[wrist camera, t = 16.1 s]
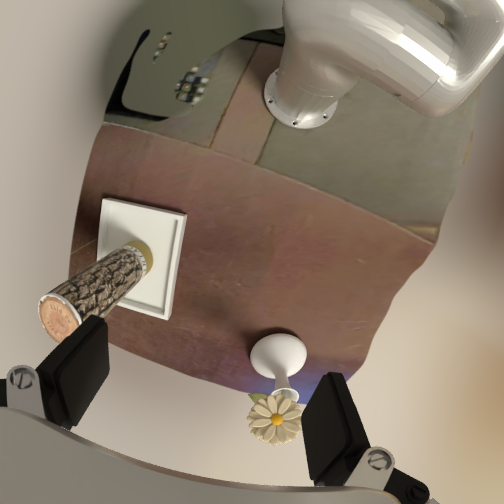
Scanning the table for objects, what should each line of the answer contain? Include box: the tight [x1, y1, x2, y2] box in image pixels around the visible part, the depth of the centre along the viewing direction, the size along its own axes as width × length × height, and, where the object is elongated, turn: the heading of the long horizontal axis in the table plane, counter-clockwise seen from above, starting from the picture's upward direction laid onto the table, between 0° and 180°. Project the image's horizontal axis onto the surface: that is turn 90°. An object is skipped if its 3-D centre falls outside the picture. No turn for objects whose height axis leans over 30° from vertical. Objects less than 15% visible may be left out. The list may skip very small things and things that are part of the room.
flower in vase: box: [247, 333, 307, 445], centre depth 42 cm, size 13×11×25 cm
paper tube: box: [38, 241, 153, 344], centre depth 36 cm, size 7×7×25 cm
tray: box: [97, 198, 187, 320], centre depth 48 cm, size 20×16×2 cm
